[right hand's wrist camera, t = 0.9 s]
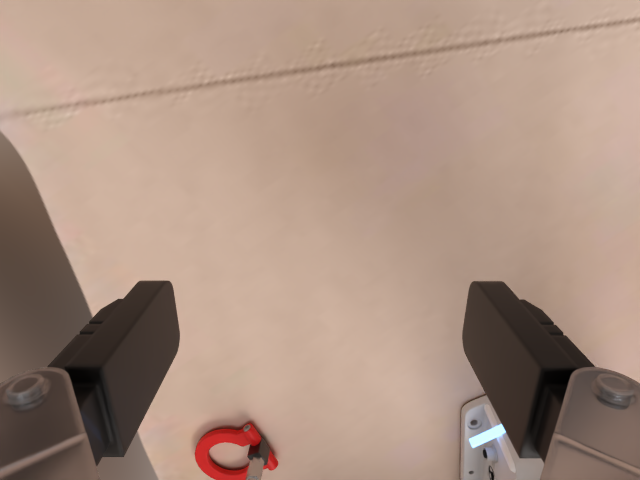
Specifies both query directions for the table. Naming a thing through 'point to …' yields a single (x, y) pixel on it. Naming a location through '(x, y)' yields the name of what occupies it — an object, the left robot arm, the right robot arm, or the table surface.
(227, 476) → the tow hook
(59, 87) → the table surface
